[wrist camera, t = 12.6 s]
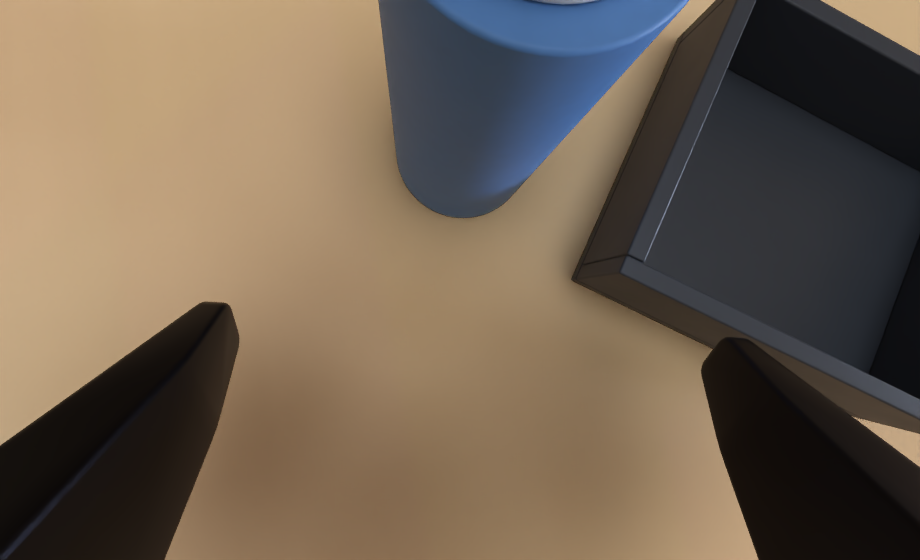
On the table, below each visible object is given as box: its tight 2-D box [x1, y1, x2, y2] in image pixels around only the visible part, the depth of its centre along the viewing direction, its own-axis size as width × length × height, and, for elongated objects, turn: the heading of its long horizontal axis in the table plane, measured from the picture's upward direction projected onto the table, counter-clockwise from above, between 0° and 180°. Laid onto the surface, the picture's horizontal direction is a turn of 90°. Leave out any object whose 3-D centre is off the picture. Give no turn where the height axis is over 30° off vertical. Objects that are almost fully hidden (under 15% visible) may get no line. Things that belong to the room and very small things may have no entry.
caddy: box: [572, 0, 920, 434], centre depth 16 cm, size 11×13×4 cm
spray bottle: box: [378, 0, 689, 218], centre depth 10 cm, size 5×5×14 cm
